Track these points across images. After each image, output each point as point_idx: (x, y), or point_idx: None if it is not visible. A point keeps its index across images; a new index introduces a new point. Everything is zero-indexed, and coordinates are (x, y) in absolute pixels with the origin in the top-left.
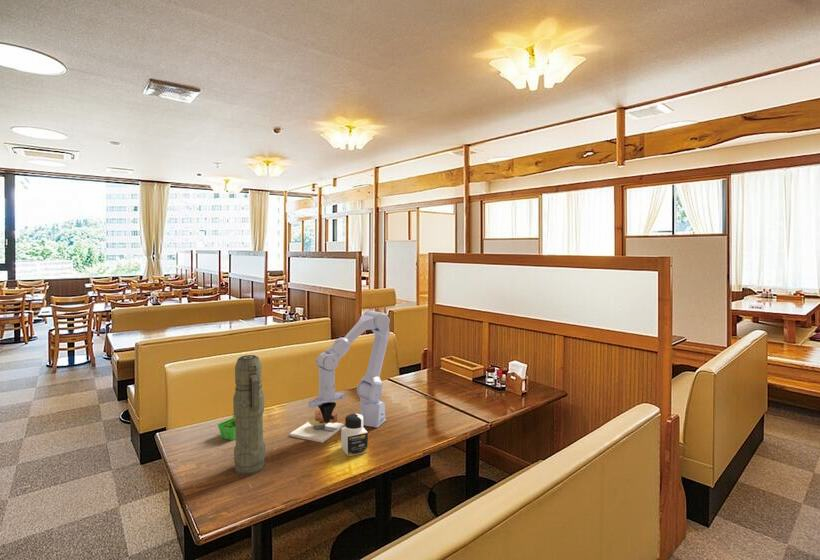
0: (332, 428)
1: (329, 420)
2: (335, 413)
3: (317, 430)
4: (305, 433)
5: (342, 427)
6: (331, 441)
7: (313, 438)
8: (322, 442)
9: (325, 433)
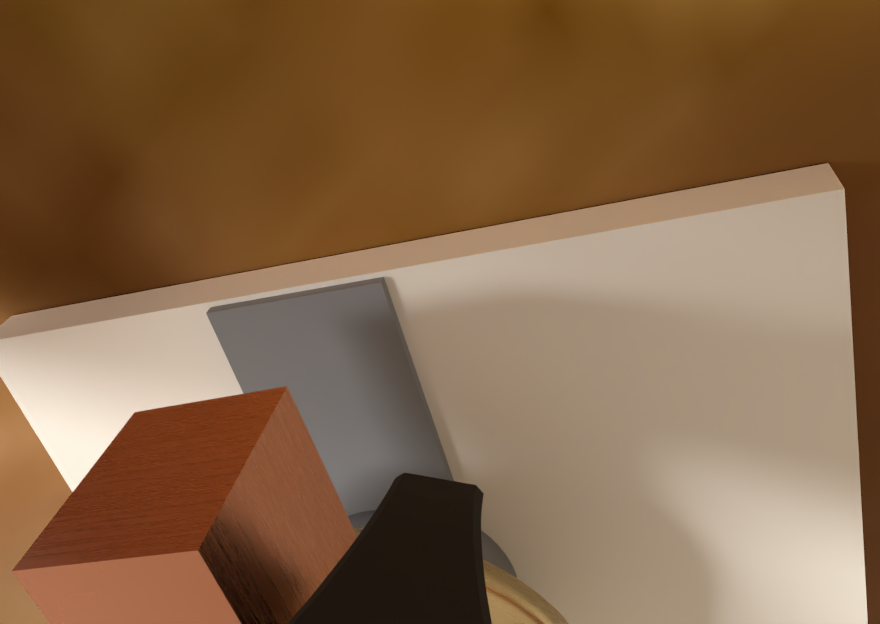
0: (281, 384)
1: (400, 508)
2: (55, 605)
3: (522, 541)
4: (751, 620)
5: (64, 308)
6: (659, 40)
7: (855, 399)
8: (829, 165)
9: (529, 354)
